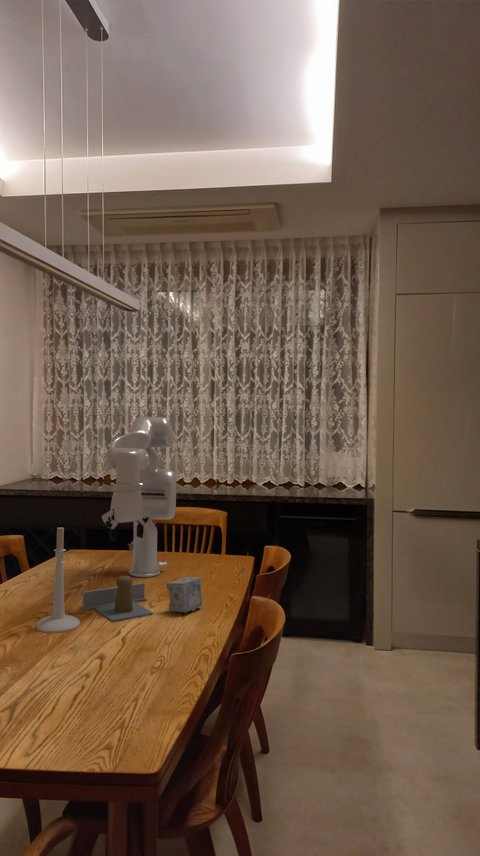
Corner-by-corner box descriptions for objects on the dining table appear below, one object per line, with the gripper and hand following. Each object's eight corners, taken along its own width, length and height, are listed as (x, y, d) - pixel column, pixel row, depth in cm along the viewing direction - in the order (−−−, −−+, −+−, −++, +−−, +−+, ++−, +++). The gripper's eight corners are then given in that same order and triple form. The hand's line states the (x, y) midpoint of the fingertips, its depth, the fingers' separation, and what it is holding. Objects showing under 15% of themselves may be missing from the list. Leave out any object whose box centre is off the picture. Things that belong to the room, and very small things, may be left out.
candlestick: (88, 621, 184) (90, 524, 184) (63, 635, 172) (65, 531, 172) (53, 616, 188) (55, 521, 188) (26, 629, 176) (28, 527, 176)
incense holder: (183, 604, 205) (183, 573, 204) (203, 608, 200) (203, 577, 200) (165, 611, 196) (165, 579, 196) (185, 616, 192) (186, 584, 192)
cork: (135, 607, 197) (136, 574, 197) (129, 613, 191) (130, 579, 191) (117, 606, 198) (118, 573, 197) (111, 612, 192) (112, 578, 191)
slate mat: (133, 603, 204) (133, 601, 204) (153, 614, 192) (153, 612, 192) (94, 609, 195) (94, 608, 195) (112, 622, 184) (112, 620, 184)
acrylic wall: (140, 597, 210) (141, 581, 210) (146, 600, 207) (146, 584, 207) (80, 607, 197) (81, 590, 197) (85, 611, 194) (85, 593, 194)
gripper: (145, 484, 206) (144, 534, 207) (98, 487, 196) (97, 539, 197) (156, 487, 200) (155, 538, 201) (107, 490, 190) (106, 544, 191)
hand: (126, 538), depth 199 cm, fingers open, 9 cm apart
